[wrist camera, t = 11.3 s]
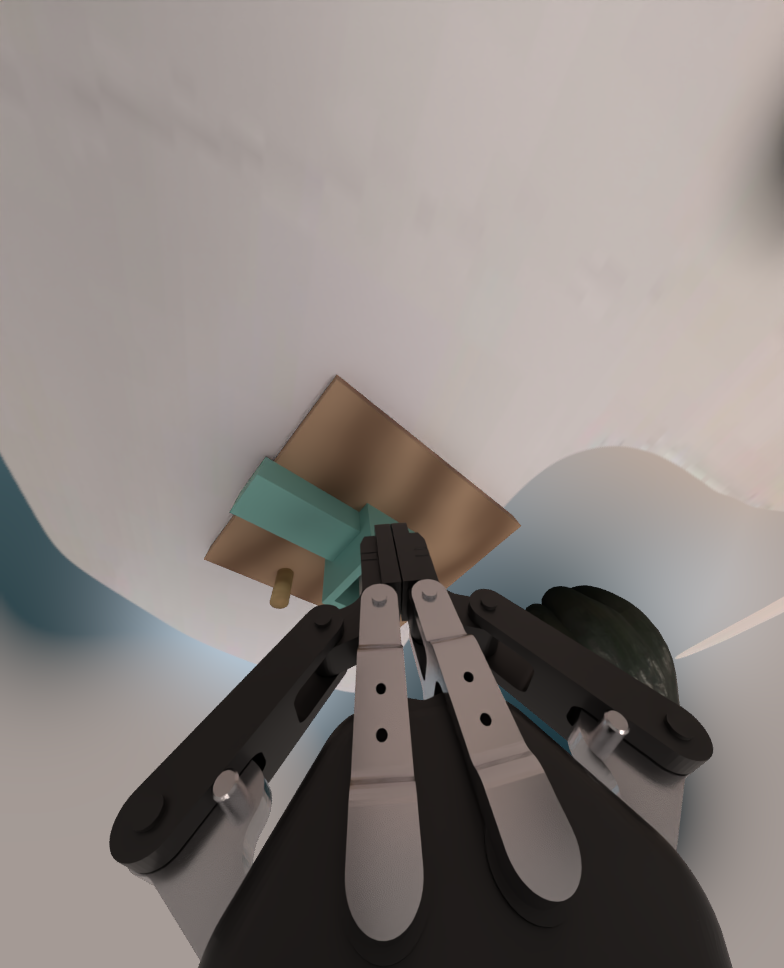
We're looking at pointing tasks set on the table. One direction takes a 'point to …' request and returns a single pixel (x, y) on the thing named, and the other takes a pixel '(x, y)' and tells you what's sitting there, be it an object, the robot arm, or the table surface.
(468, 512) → the base
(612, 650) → the squash
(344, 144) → the table surface
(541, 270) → the table surface
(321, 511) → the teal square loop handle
